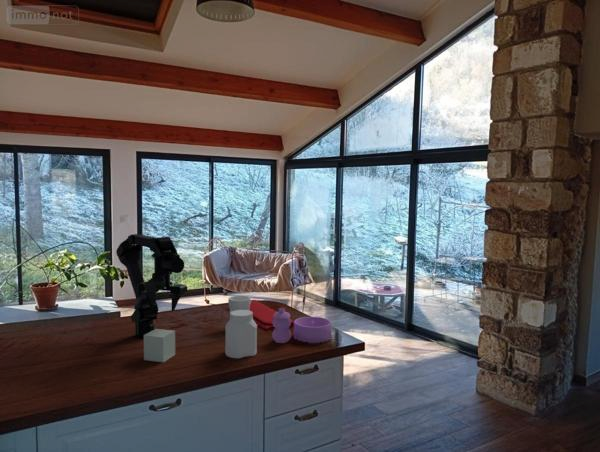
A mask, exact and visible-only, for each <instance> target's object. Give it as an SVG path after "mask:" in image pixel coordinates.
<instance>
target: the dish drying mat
mask: <svg viewBox="0 0 600 452" xmlns="http://www.w3.org/2000/svg"><path fill="white" fill-rule="evenodd" d="M249 311H252V312H253V320H254V321H255V323H256V324H257V327H259V328H261V329H263V330H265V331H267V332H269V331H274V329H275V327H274V326H273V320H274V317H273V315H274V314H275V313H276V312H277V310H274V309H273V308H270V307H269V306H267V305H264V303H261V302H259V301H257V300H256V299H251V304H250V308H249ZM289 319H290V321H291V325H290V326H293V327H294V320H293V319H292V318H291V317H290V318H289Z"/></svg>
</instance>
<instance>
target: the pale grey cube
mask: <svg viewBox="0 0 600 452" xmlns="http://www.w3.org/2000/svg"><path fill="white" fill-rule="evenodd" d="M175 355H176V330H174V329H173V330H171V329H163V328H161V329H160V328H154V330H153V331H151V332H149V333H147V334H145V335H144V338H143V361H150V362H158V363H165V362H166V361H168V360H169V359H170V358H173V357H174V356H175Z"/></svg>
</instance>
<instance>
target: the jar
mask: <svg viewBox="0 0 600 452" xmlns="http://www.w3.org/2000/svg"><path fill="white" fill-rule="evenodd" d="M224 328H225V329H224V330H225V350H224V352H225V355H226V356H227V357H228V358H231V359H242V358H245V357H246V358H247V357H252V356H256V355H257V353H258V348H257V344H258V341H257V340H258V339H257V337H258V326H257V324H256V323H255V321H254V320H253V312H252V311H249V310H235V311H232V312H230V311H229V320H228V321H227V323H226V324H225V326H224Z"/></svg>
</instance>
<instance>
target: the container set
mask: <svg viewBox="0 0 600 452" xmlns="http://www.w3.org/2000/svg"><path fill="white" fill-rule="evenodd" d="M285 309H286V308H283V307H280V308H278V311H276V313H275V314H274V315H273V317H274V320H273V326H274V327H275V329H274V330H272V334H271V336H272V340H273V341H274V342H275V343H277V344H286V343H288V342H289V341H290V340H291V337H292V333H291V330H290V328H291V327H290V325H291V321H290V319H291V314H290V313H289V312H288V311H286V310H285ZM289 318H290V319H289ZM293 321H294V326H293V338H294V340H296V339H297V340H296V341H298V340H299V341H298V342H300V341H303V342H302V343H305V342H308V343H307V344H321V343H320V342H322V343H326V342H329V341H330V340H331V339H332V321H331V320H330V319H328V318H326V317H321V316H302V317H298V318H296V319H294V320H293ZM328 340H329V341H328ZM325 341H326V342H325Z"/></svg>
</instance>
